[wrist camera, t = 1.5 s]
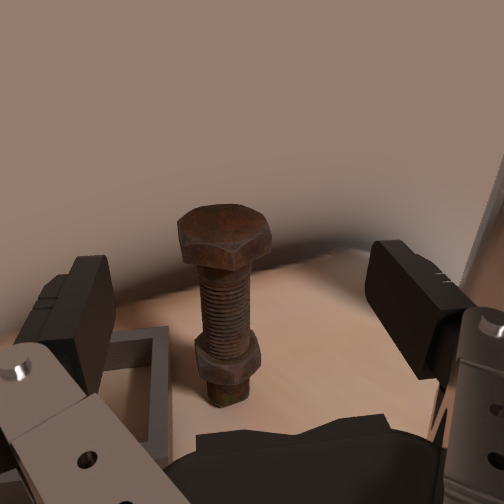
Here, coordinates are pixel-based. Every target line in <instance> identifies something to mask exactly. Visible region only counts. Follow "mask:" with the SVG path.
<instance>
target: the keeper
mask: <svg viewBox="0 0 504 504" xmlns="http://www.w3.org/2000/svg"><path fill="white" fill-rule="evenodd" d="M148 365H152V366H151V386H150V407H149V427H148V441H147V442H140V444H141V446H142V447H143V448H144V449H145V450H146V452H147V453H148V454H149V455H150V456H151V458H152V459H153V460H154V461H155V462H156V463H157V465H158V466H159V467H160V468H161V469H162V470H163V469H164V468H165V467H166V466H168V465H169V464H171V463H172V462H173V453H172V350H171V342H170V335H169V328H168V326H163V327H154V328H145V329H136V330H127V331H118V332H112V335H111V339H110V344H109V348H108V352H107V356H106V361H105V365H104V369H103V371H107V370H115V369H123V368H132V367H140V366H148ZM0 504H34V503H33V502H32V500H31V498H30V496H29V494H28V492H27V490H26V488H25V486H24V484H23V483H22V481H21V479H20V477H19V475H18V473H17V471H16V469H13V470H10V471H7V472H5V473H2V474H0Z"/></svg>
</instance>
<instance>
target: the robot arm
mask: <svg viewBox="0 0 504 504" xmlns="http://www.w3.org/2000/svg"><path fill="white" fill-rule="evenodd" d="M365 295H366V298H367V301H368V303H369V305H370V306H371V308H372V309H373V311H374V312H375V314H376V315H377V317H378V318H379V320H380V321H381V323H382V325H383V326H384V328H385V329H386V331H387V332H388V334H389V335H390V337H391V338H392V340H393V341H394V343H395V344H396V346H397V348H398V349H399V351H400V352H401V354H402V355H403V357H404V358H405V360H406V361H407V363H408V364H409V366H410V367H411V369H412V371H413V372H414V374H415V375H416V377H417V378H418V380H423V379H433V378H437V380H438V381H439V385H438V388H437V391H436V395H435V400H434V405H433V410H432V415H431V420H430V425H429V430H428V435H427V439H424V438H422V437H420V436H417V435H414V434H411V433H408V432H404V431H400V430H395V429H391V428H390V426H389V424H388V422H387V420H386V418H385V416H384V414H376V415H367V416H358V417H349V418H341V419H337V420H335V421H332V422H329V423H327V424H324V425H322V426H319V427H317V428H314V429H311V430H309V431H306V432H304V433H301V434H298V435H287V434H278V433H270V432H261V431H252V430H236V431H227V432H218V433H210V434H201V435H196V451H195V452H192V453H190V454H187V455H185V456H183V457H181V458H179V459H177V460H175V461H174V462H172V463H171V464H169V465H168V466H166V467H165V468H164V469H163V470H162V469H161V468H160V467H159V466H158V465H157V463H156V462H155V461H154V460H153V459H152V458H151V456H150V455H149V454H148V453H147V452H146V450H145V449H144V448H143V447H142V446H141V444H140V443H139V442H138V441H137V440H136V439H135V437H134V436H133V435H132V434H131V433H130V431H129V430H128V429H127V428H126V427H125V426H124V424H123V423H122V422H121V421H120V420H119V418H118V417H117V416H116V415H115V414H114V413H113V411H112V410H111V409H110V408H109V407H108V405H107V404H106V403H105V402H104V401H103V400H102V398H101V397H100V396H99V395H98V390H99V386H100V382H101V378H102V373H103V369H104V365H105V361H106V356H107V352H108V348H109V344H110V339H111V335H112V331H113V327H114V322H115V315H116V306H115V298H114V293H113V287H112V282H111V276H110V271H109V265H108V261H107V258H106V256H105V255H95V256H78V257H77V258H76V259H75V261H74V263H73V266H72V268H71V270H70V272H69V274H64V275H57V276H56V277H55V278H54V279H52V280H51V281H50V282H49V283H47V284H46V285H45V286H44V288H43V290H42V291H41V294H40V295H39V297H38V301H36V303H35V305H34V307H33V311H31V312H30V314H29V316H28V318H27V320H26V321H25V323H24V325H23V327H22V329H21V331H20V333H19V335H18V336H17V338H16V340H15V342H14V344H13V345H12V346H9V347H6V348H4V349H2V350H0V474H2V473H5V472H7V471H10V470H13V469H16V471H17V473H18V475H19V477H20V479H21V481H22V483H23V484H24V486H25V488H26V490H27V492H28V494H29V496H30V498H31V500H32V502H33V503H34V504H504V156H503V158H502V162H501V164H500V167H499V170H498V173H497V176H496V180H495V182H494V185H493V188H492V191H491V194H490V197H489V200H488V202H487V205H486V208H485V211H484V214H483V217H482V220H481V223H480V226H479V228H478V231H477V234H476V237H475V240H474V243H473V246H472V249H471V252H470V254H469V257H468V260H467V263H466V266H465V269H464V272H463V275H462V278H461V281H460V283H459V286H458V287H457V286H456V285H455V284H454V283H453V282H451V280H450V279H449V278H448V277H447V276H446V275H445V274H442V271H441V270H439V268H438V267H437V266H436V265H434V263H432V262H431V261H429V260H427V259H425V258H424V257H422V256H420V255H418V254H414V252H413V251H412V250H410V249H409V248H408V246H407V245H406V244H405V243H404V242H403V241H401V240H383V241H375V242H374V243H373V245H372V249H371V254H370V259H369V264H368V270H367V275H366V280H365Z"/></svg>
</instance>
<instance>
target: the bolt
mask: <svg viewBox="0 0 504 504" xmlns="http://www.w3.org/2000/svg"><path fill="white" fill-rule="evenodd" d="M177 225H178V235H179V242H180V247H181V252H182V257H183V262H184V263H187V264H193V265H197V272H198V274H199V281H200V282H199V284H200V297H201V312H202V322H203V332H202V333H201V334H200V335H199V336H198V337H197V338H196V339H195V340H194V341H195V352H196V358H197V365H198V370H199V375H200V377H201V378H203V379H205V380H207V391H208V397H209V399H210V400H211V399H212V400H213V402H212V403H214V404H215V405H216V406H218V407H219V408H224V407H227V406H230V405H232V404H235V403H238V402H241V401H244V400H245V399H247V398H248V396H249V390H250V386H249V381H250V380H249V378H250V376H252V375H253V374H254V373H255V372H256V371H257V370H258V368H259V367H260V366H261V352H260V348H259V344H258V341H257V338H256V336H255V333H254V332H253V330H251V329H250V272H251V269H252V261H254V260H256V259H258V258H260V257H262V256H264V255H266V254H268V253H269V252H271V239H272V238H271V237H272V235H271V232H270V228H269V226H268V223H267V220H266V219H265V217H264V216H263V215H262V214H261V213H259V212H257V211H255V210H253V209H251V208H248V207H245V206H243V205H238V204H218V205H217V204H216V205H209V206H201V207H198V208H195V209H193V210H191V211H190V212H188V213H187V214H185V215H184V216H183V217H182V218H181V219H179V220H178V221H177Z"/></svg>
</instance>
